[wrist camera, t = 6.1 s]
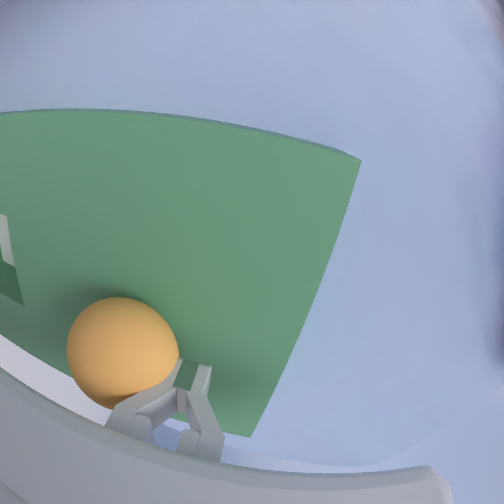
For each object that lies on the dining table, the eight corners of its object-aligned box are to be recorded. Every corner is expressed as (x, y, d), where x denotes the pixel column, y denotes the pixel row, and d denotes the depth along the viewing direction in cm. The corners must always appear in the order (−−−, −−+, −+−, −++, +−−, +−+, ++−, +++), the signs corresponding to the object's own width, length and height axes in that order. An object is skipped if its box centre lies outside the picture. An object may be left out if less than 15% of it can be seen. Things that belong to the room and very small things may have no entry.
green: (-18, 115, 12) (-80, 131, 6) (342, 151, 12) (391, 176, 6) (3, 301, 20) (-35, 338, 14) (255, 399, 20) (244, 473, 14)
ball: (113, 259, 12) (32, 315, 8) (208, 308, 11) (141, 397, 7) (113, 332, 14) (57, 387, 10) (189, 376, 14) (142, 448, 9)
